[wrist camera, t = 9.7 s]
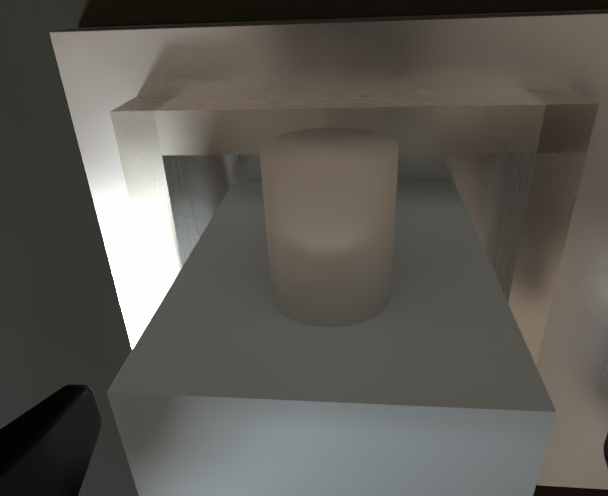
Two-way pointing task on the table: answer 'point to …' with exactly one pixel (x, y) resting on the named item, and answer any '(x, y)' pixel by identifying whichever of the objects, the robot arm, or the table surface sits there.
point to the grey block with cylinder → (334, 343)
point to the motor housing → (411, 157)
